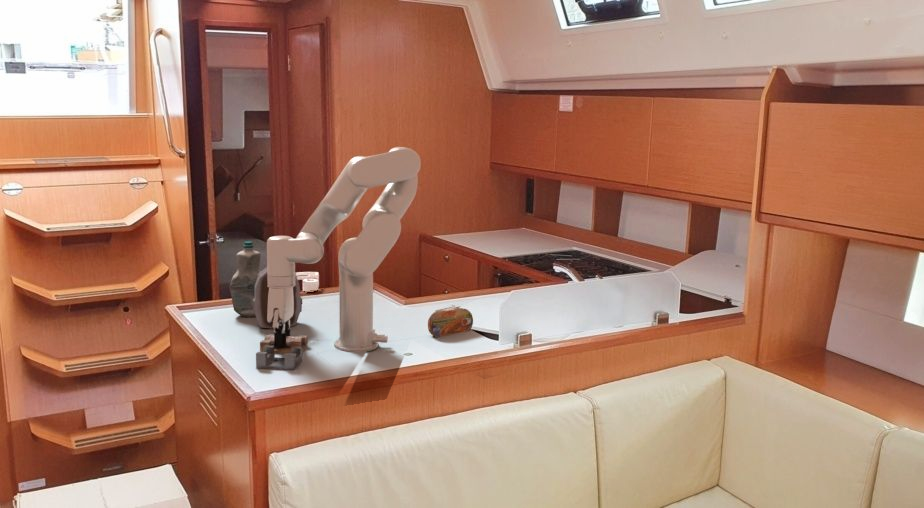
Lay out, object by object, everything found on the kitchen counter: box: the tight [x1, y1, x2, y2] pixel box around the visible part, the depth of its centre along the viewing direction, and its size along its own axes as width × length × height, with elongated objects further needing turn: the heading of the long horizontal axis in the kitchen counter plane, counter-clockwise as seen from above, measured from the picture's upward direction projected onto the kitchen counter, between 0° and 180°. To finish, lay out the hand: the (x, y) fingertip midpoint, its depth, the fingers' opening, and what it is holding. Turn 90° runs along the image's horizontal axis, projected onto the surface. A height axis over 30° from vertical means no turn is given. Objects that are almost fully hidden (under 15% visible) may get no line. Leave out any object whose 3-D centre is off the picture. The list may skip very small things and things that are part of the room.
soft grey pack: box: [253, 266, 303, 330], centre depth 235 cm, size 15×8×20 cm, turn 109°
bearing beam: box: [259, 333, 309, 355], centre depth 213 cm, size 11×8×3 cm
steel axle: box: [263, 334, 302, 347], centre depth 213 cm, size 10×3×3 cm, turn 86°
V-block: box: [255, 345, 303, 371], centre depth 199 cm, size 10×7×4 cm
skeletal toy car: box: [295, 271, 320, 292], centre depth 281 cm, size 20×11×7 cm, turn 114°
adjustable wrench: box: [434, 304, 461, 312], centre depth 256 cm, size 25×6×2 cm, turn 155°
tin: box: [427, 307, 474, 338], centre depth 230 cm, size 15×3×8 cm, turn 123°
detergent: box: [229, 240, 262, 318], centre depth 245 cm, size 13×7×25 cm, turn 112°
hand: (282, 344), depth 213 cm, fingers closed on steel axle, 3 cm apart
